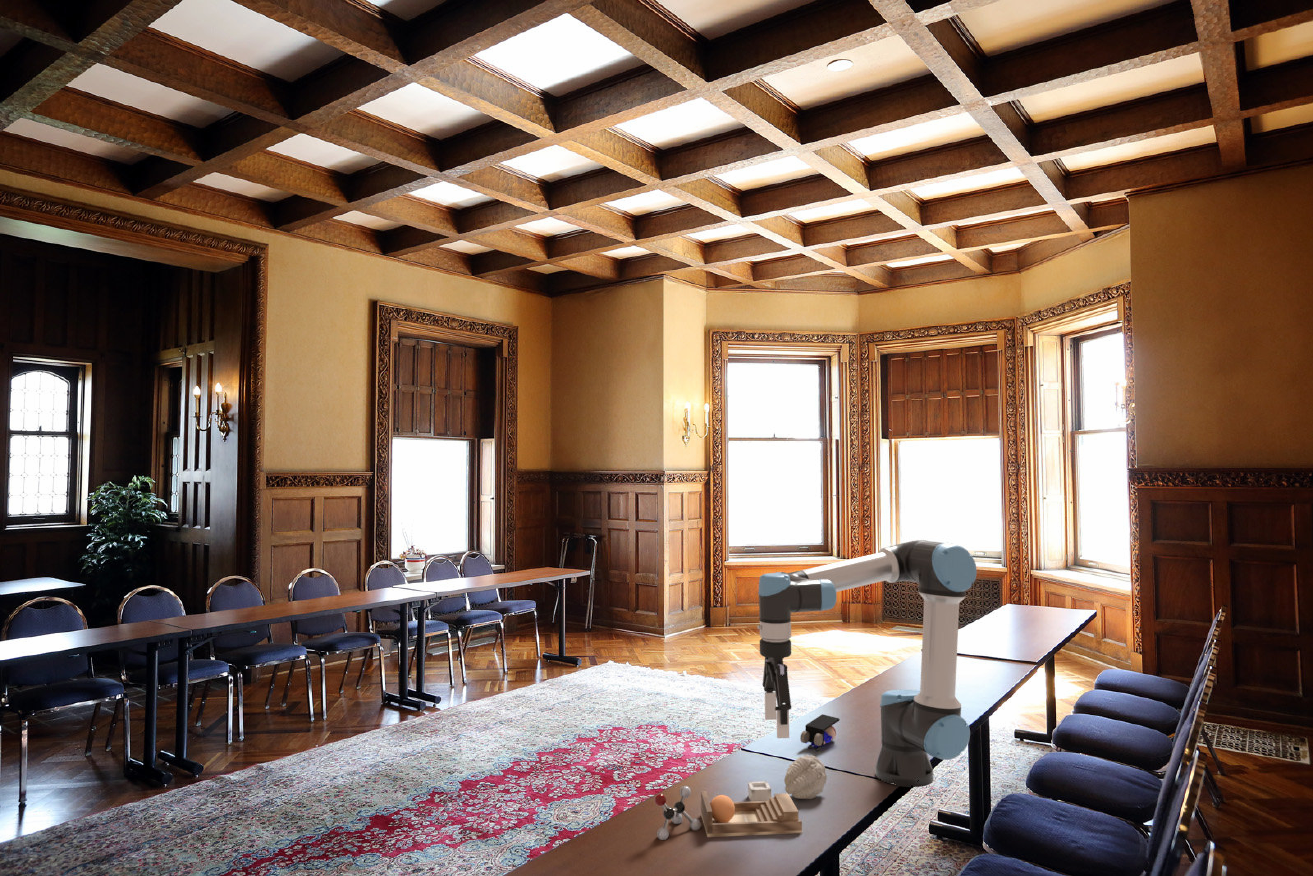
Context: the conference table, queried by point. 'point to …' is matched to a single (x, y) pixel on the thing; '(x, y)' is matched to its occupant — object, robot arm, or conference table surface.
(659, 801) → the molecular model
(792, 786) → the fossil replica
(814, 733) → the figurine character
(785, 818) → the wooden stepped tray
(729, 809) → the ball
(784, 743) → the conference table surface
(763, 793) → the white open box
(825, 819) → the conference table surface
